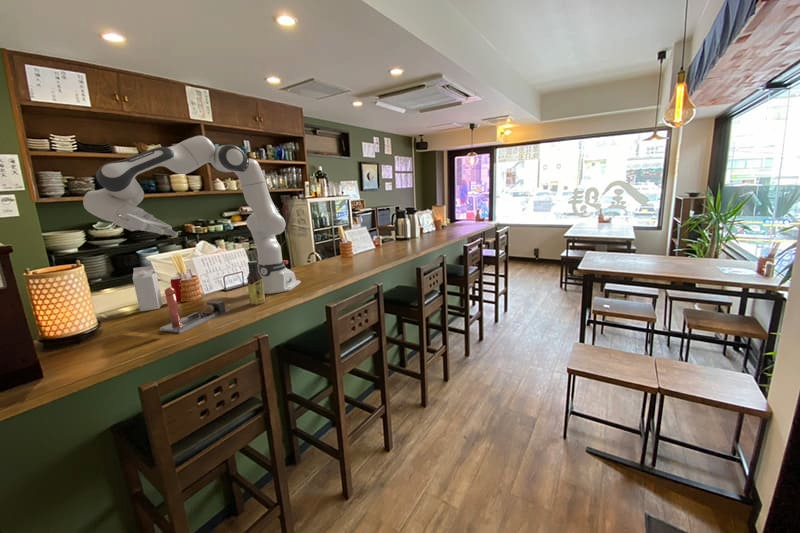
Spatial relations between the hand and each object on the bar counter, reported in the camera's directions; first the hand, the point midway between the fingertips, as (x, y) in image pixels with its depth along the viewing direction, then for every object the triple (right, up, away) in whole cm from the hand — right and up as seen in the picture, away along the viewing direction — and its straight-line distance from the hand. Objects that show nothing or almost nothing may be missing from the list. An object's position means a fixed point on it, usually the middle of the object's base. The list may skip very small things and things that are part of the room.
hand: (170, 233), depth 129 cm
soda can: (-18, -29, +36) cm, 49 cm away
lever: (+3, -35, 0) cm, 35 cm away
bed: (+6, -34, +8) cm, 36 cm away
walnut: (+7, -32, +13) cm, 35 cm away
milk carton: (-27, -31, +28) cm, 50 cm away
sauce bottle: (+23, -30, +25) cm, 45 cm away
